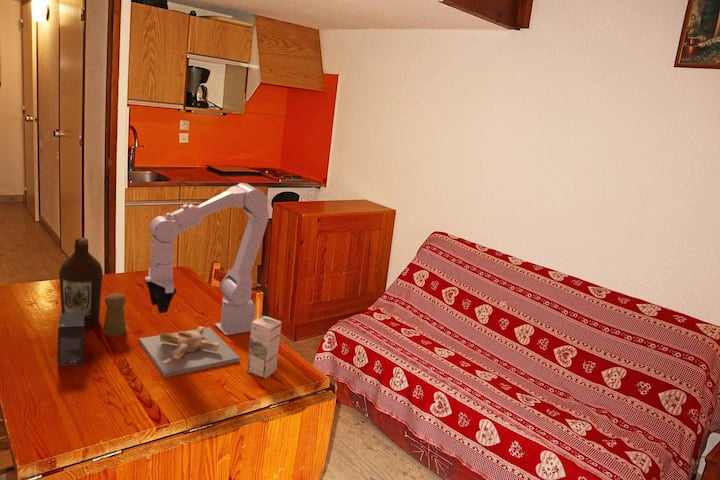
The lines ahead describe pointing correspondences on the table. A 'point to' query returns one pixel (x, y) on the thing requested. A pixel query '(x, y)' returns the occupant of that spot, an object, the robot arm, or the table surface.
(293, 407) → the table surface
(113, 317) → the cork
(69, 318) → the box
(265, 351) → the syrup box
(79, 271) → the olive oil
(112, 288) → the table surface
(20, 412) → the table surface
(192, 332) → the capstan
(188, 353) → the stand board
